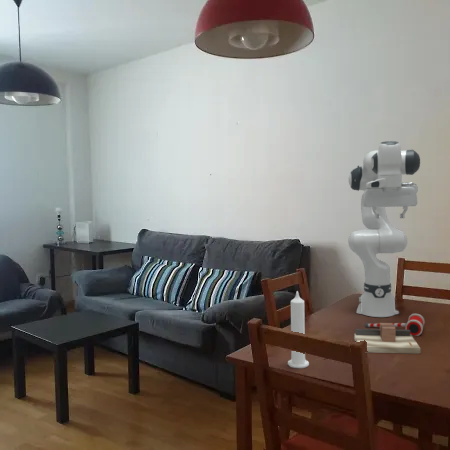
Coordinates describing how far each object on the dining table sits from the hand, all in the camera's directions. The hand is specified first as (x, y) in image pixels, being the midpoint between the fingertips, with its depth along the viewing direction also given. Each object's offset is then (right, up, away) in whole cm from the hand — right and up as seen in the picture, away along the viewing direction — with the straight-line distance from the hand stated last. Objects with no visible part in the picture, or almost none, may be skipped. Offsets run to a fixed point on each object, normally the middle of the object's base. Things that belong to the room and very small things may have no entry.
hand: (389, 218), depth 193 cm
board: (-5, -47, -10) cm, 49 cm away
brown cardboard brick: (-4, -45, -8) cm, 46 cm away
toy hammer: (+7, -46, +9) cm, 47 cm away
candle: (-40, -50, -27) cm, 69 cm away
